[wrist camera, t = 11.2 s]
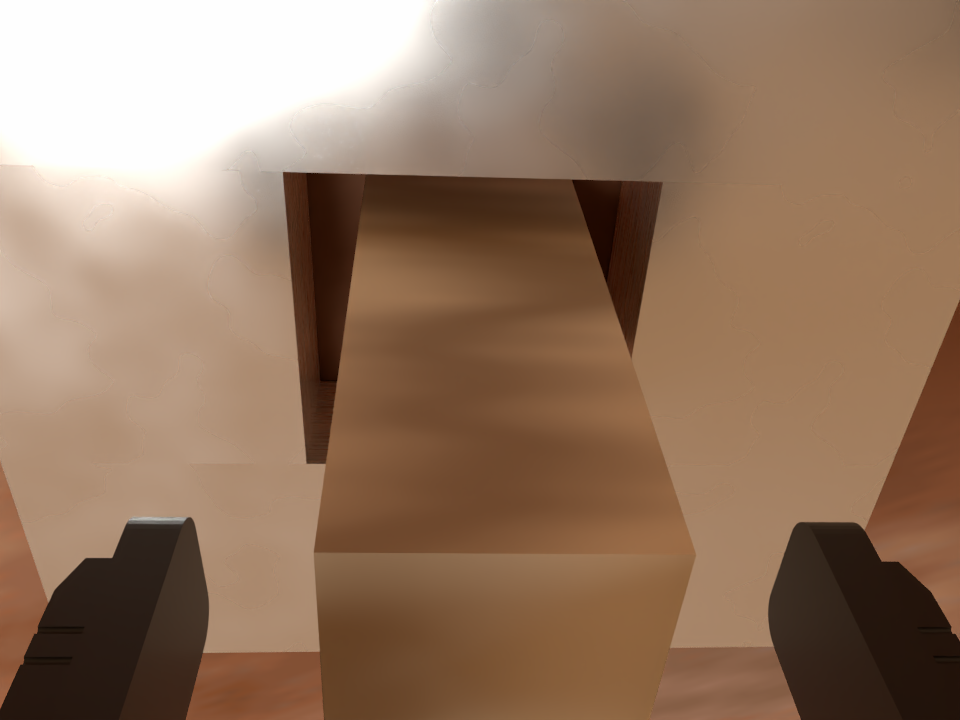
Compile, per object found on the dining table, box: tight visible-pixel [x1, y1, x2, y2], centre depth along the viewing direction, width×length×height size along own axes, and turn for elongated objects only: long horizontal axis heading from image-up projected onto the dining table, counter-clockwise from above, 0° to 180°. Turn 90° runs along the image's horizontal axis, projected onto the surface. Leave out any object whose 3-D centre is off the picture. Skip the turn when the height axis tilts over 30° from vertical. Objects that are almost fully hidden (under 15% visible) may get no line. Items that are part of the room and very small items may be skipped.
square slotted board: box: [0, 0, 960, 653], centre depth 17 cm, size 18×18×3 cm
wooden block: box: [314, 174, 696, 720], centre depth 14 cm, size 4×4×10 cm
